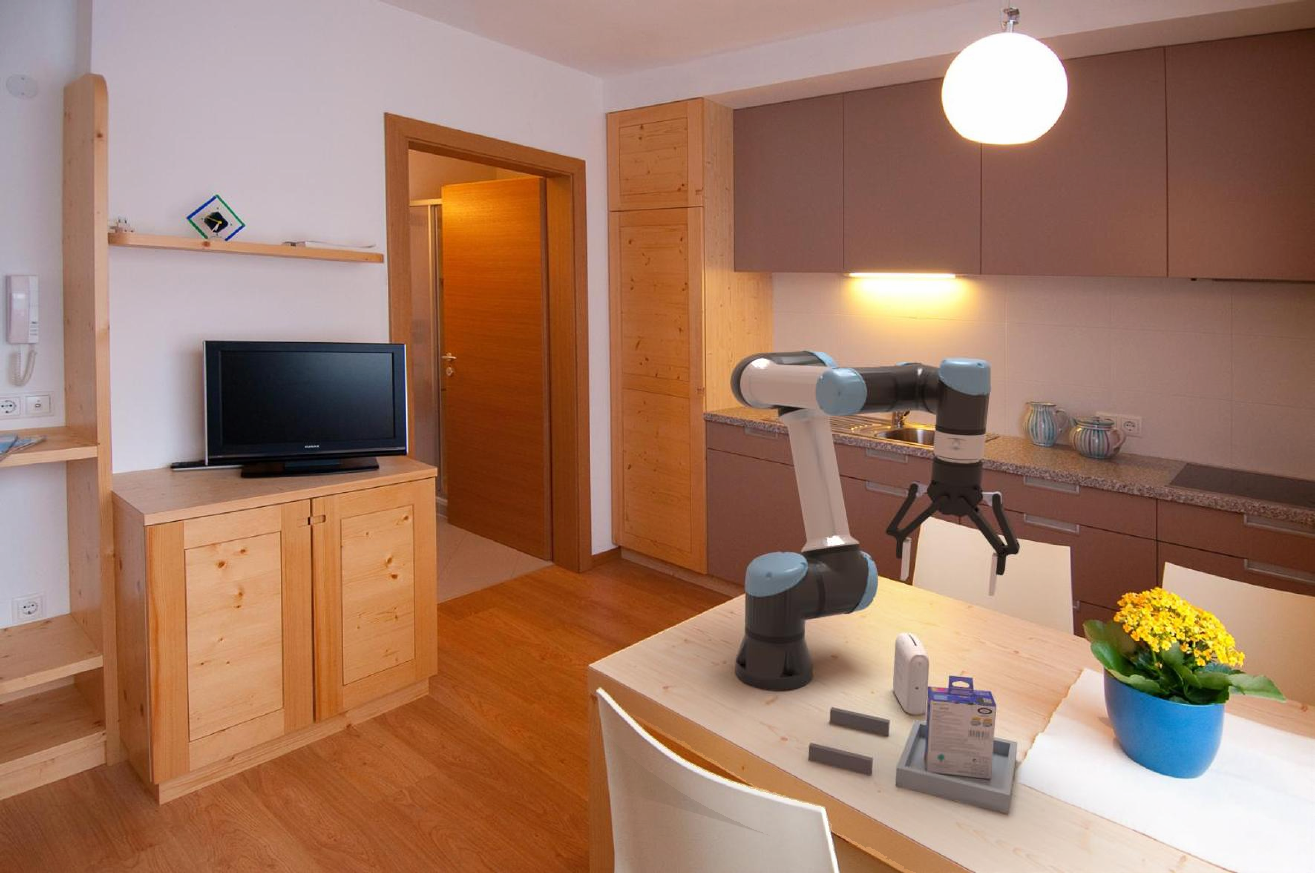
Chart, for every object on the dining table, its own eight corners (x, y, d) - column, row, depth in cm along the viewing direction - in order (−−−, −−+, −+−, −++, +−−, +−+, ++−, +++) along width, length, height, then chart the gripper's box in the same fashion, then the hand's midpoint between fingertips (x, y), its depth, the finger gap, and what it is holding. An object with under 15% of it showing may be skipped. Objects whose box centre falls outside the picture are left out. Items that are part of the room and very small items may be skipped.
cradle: (808, 759, 137) (808, 745, 136) (831, 720, 149) (831, 706, 149) (870, 775, 132) (871, 760, 132) (889, 733, 145) (889, 719, 144)
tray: (895, 785, 130) (896, 767, 129) (914, 735, 144) (915, 719, 143) (1008, 813, 123) (1009, 795, 122) (1016, 758, 137) (1017, 741, 136)
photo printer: (929, 715, 151) (933, 650, 149) (904, 715, 151) (908, 650, 149) (912, 688, 161) (916, 626, 159) (890, 688, 161) (893, 626, 159)
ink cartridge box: (987, 760, 135) (993, 676, 132) (993, 780, 130) (1000, 692, 127) (922, 754, 137) (927, 670, 134) (925, 773, 132) (931, 686, 129)
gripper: (872, 453, 136) (864, 578, 140) (1043, 472, 124) (1028, 608, 129) (883, 444, 142) (875, 564, 146) (1046, 461, 131) (1032, 591, 135)
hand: (947, 585), depth 138 cm, fingers open, 13 cm apart
